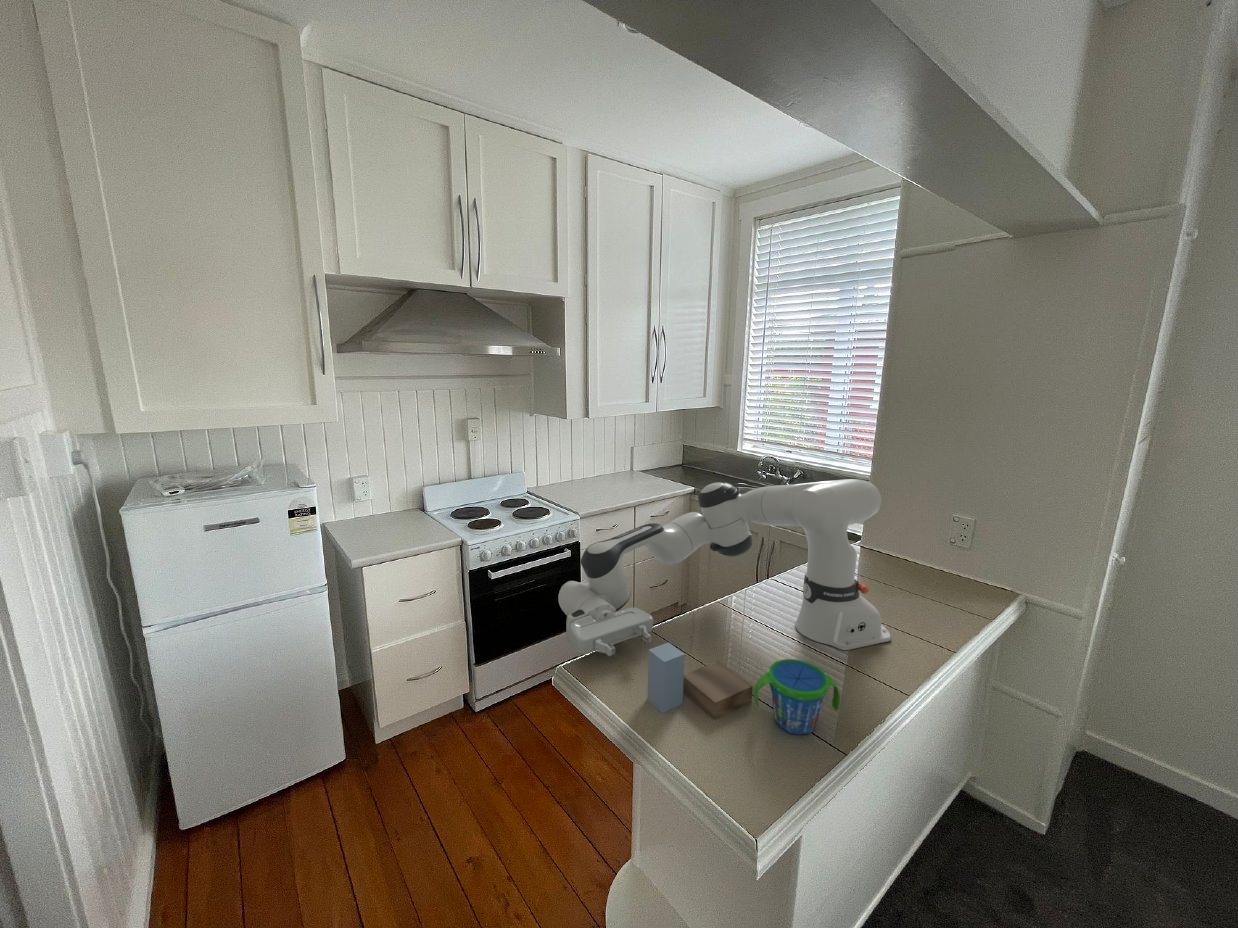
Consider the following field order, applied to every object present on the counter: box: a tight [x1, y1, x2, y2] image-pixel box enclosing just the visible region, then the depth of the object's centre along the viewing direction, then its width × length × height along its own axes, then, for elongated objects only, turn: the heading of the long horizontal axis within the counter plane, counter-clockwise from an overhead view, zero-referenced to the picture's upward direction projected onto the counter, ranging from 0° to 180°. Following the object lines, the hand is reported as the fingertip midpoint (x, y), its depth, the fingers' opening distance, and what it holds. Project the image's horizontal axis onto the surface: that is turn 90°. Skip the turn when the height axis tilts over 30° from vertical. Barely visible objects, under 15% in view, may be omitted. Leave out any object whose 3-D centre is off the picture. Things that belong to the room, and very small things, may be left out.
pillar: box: [646, 642, 686, 714], centre depth 100 cm, size 5×5×11 cm
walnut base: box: [683, 660, 754, 721], centre depth 103 cm, size 10×10×4 cm
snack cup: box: [753, 658, 841, 735], centre depth 95 cm, size 16×10×10 cm
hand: (630, 645), depth 110 cm, fingers open, 8 cm apart
